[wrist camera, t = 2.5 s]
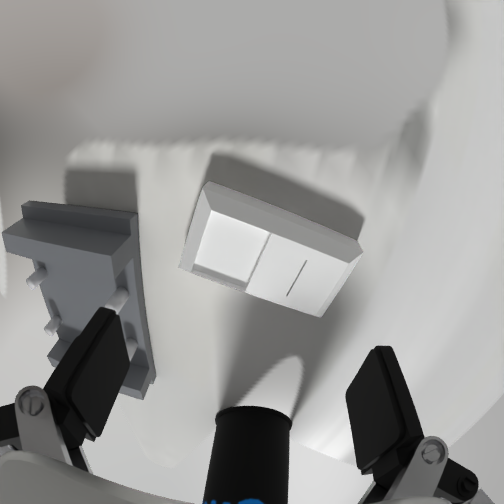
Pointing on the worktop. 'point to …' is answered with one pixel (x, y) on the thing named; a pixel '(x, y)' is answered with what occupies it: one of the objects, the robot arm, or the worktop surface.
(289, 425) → the aerosol can
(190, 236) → the white rectangular block
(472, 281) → the worktop surface
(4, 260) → the worktop surface
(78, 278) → the pin tray
